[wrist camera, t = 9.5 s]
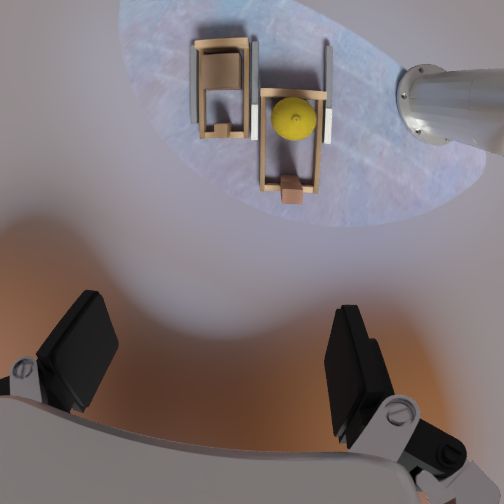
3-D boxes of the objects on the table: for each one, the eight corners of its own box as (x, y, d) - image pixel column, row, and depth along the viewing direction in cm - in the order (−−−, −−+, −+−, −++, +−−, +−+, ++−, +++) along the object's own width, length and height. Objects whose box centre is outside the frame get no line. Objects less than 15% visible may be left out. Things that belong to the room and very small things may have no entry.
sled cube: (249, 44, 31) (247, 37, 28) (249, 136, 38) (247, 139, 34) (201, 46, 32) (194, 40, 28) (202, 137, 38) (195, 140, 34)
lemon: (263, 123, 37) (261, 125, 29) (285, 90, 34) (289, 85, 27) (296, 145, 38) (303, 153, 31) (319, 113, 35) (331, 114, 28)
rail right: (199, 46, 32) (196, 44, 30) (199, 122, 37) (196, 123, 36) (193, 47, 32) (190, 45, 30) (193, 123, 37) (190, 123, 36)
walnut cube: (242, 59, 32) (238, 53, 28) (242, 89, 35) (238, 87, 31) (209, 60, 33) (201, 55, 29) (209, 90, 35) (201, 88, 31)
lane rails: (330, 48, 31) (333, 46, 29) (328, 142, 37) (330, 143, 36) (252, 43, 31) (251, 41, 30) (252, 138, 38) (251, 139, 36)
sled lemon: (321, 93, 34) (332, 90, 27) (316, 190, 40) (325, 207, 34) (261, 90, 34) (259, 85, 28) (260, 188, 41) (258, 204, 34)
